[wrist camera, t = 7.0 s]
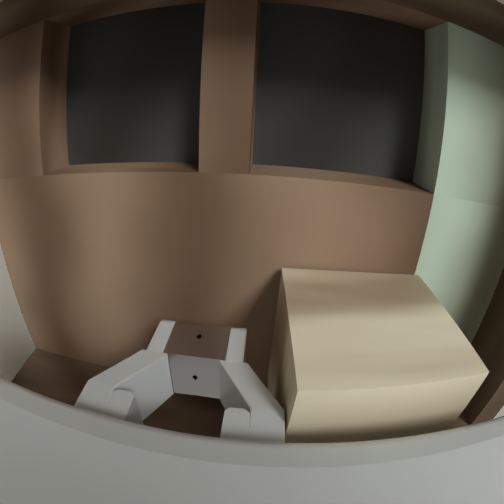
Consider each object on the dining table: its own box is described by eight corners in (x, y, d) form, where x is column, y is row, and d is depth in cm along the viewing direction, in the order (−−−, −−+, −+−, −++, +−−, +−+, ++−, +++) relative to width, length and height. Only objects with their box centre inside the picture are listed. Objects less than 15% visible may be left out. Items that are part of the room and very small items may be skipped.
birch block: (281, 268, 10) (297, 390, 6) (418, 275, 10) (489, 371, 6) (267, 375, 12) (270, 484, 8) (380, 373, 12) (413, 468, 8)
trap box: (60, 345, 16) (21, 404, 11) (19, 19, 8) (-58, 10, 4) (447, 373, 15) (476, 438, 11) (527, 49, 7) (603, 48, 3)
